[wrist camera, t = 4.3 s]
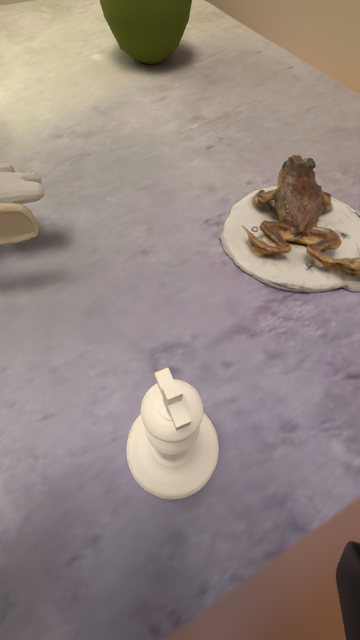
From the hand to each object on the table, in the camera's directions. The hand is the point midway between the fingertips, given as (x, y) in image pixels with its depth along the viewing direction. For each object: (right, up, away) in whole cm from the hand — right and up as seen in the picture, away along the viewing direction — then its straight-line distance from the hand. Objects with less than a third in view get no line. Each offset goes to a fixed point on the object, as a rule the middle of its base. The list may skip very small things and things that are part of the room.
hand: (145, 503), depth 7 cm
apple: (-3, +37, +33) cm, 50 cm away
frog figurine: (+10, +11, +18) cm, 23 cm away
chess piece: (0, -3, +10) cm, 10 cm away
